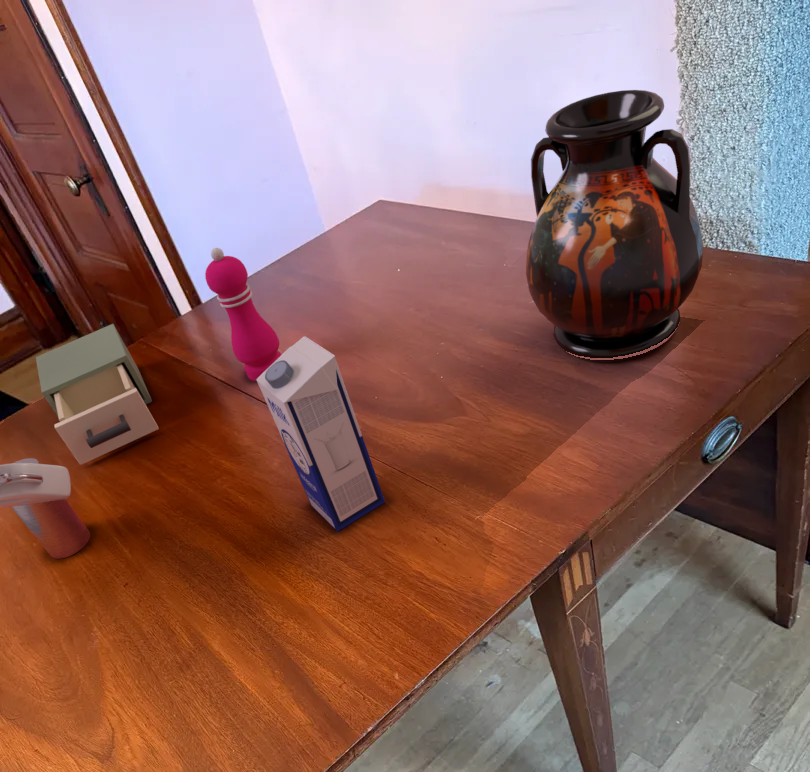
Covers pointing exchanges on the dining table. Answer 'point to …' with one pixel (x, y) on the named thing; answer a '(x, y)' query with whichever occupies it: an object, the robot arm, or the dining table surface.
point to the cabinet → (86, 363)
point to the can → (54, 525)
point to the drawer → (101, 414)
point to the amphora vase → (612, 228)
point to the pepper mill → (242, 314)
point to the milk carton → (321, 433)
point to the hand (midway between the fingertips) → (28, 496)
